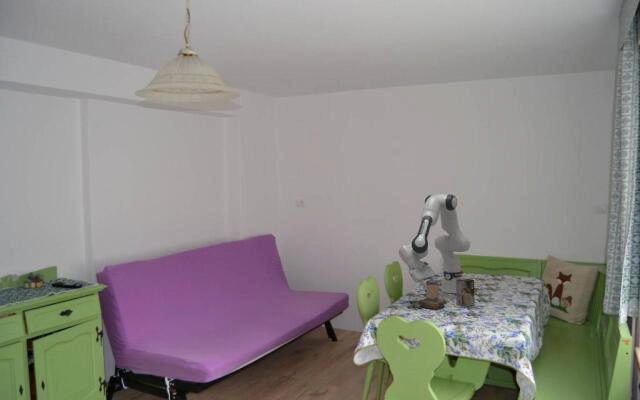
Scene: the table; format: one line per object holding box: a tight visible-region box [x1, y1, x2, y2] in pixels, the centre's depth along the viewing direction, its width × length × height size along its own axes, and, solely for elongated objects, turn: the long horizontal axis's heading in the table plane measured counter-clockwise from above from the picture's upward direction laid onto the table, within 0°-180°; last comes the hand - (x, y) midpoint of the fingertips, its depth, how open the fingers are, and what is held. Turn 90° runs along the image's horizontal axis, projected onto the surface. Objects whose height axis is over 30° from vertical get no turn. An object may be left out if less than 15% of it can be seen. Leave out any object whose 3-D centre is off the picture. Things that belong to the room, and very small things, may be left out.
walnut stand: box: [418, 298, 447, 311], centre depth 307 cm, size 12×12×4 cm
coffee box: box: [455, 277, 476, 308], centre depth 310 cm, size 9×6×16 cm
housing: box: [425, 279, 439, 302], centre depth 307 cm, size 5×5×12 cm
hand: (430, 284), depth 307 cm, fingers open, 8 cm apart
